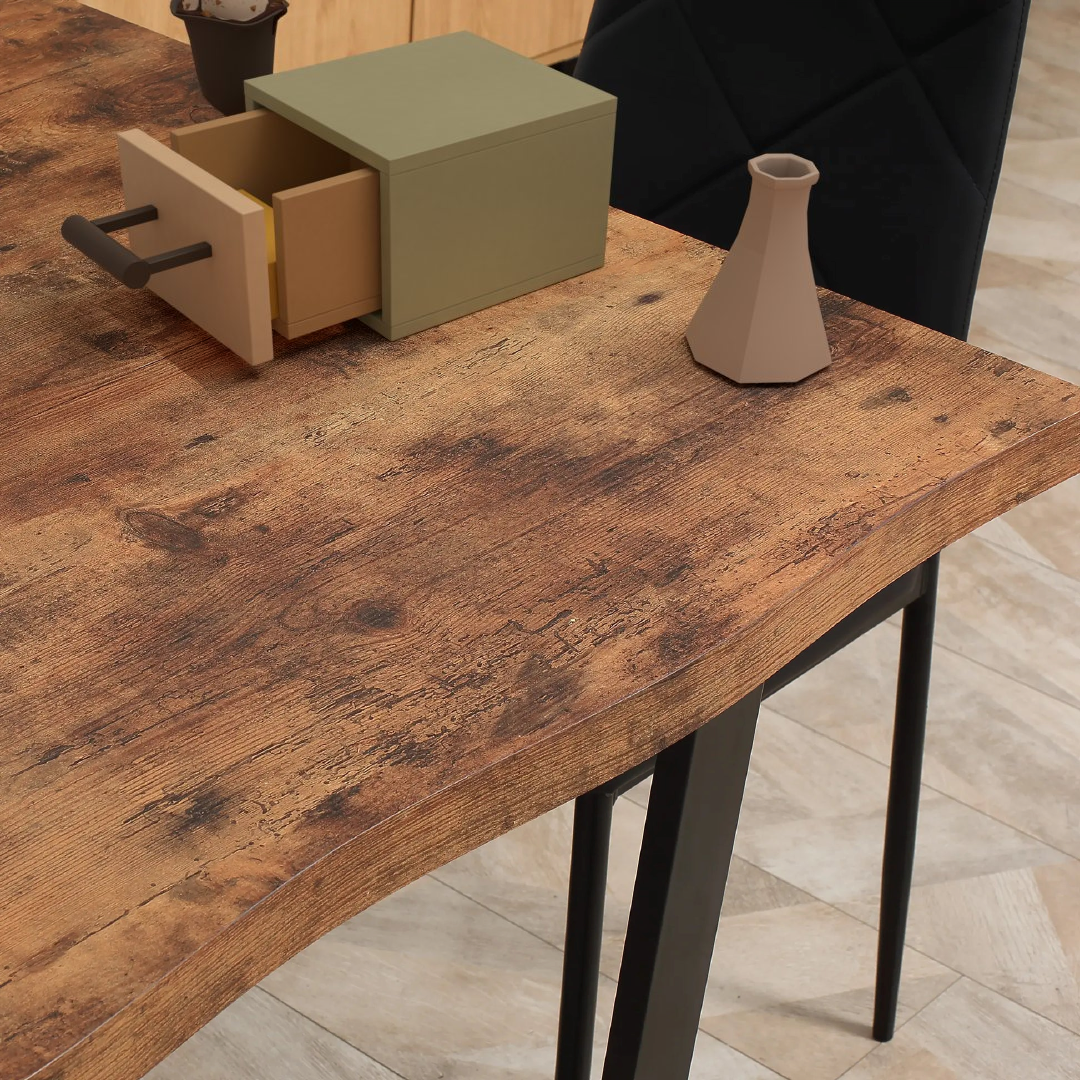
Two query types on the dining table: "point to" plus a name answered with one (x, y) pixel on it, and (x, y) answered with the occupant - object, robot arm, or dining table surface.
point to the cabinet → (462, 168)
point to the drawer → (244, 228)
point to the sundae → (230, 45)
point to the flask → (766, 285)
